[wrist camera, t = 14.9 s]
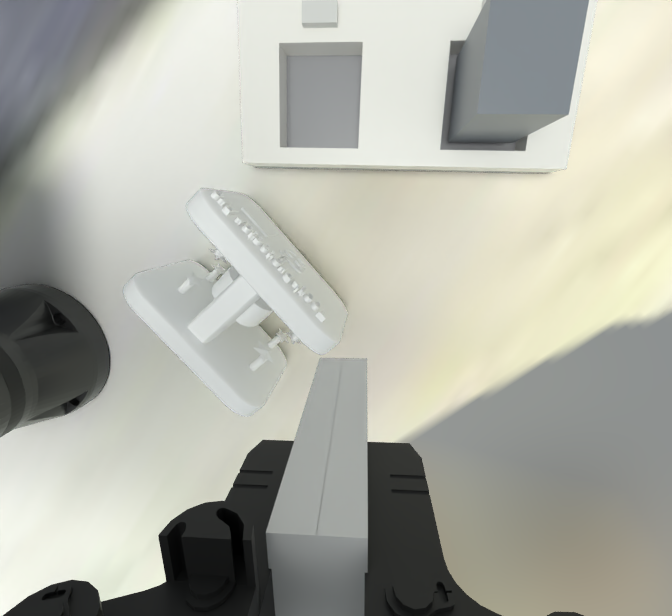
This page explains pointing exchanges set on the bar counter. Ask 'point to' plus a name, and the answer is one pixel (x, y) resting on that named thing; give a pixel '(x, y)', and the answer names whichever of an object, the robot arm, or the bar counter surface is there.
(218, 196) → the cable organizer
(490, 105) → the plug
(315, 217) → the bar counter surface
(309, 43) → the socket plate
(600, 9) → the bar counter surface
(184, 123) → the bar counter surface
